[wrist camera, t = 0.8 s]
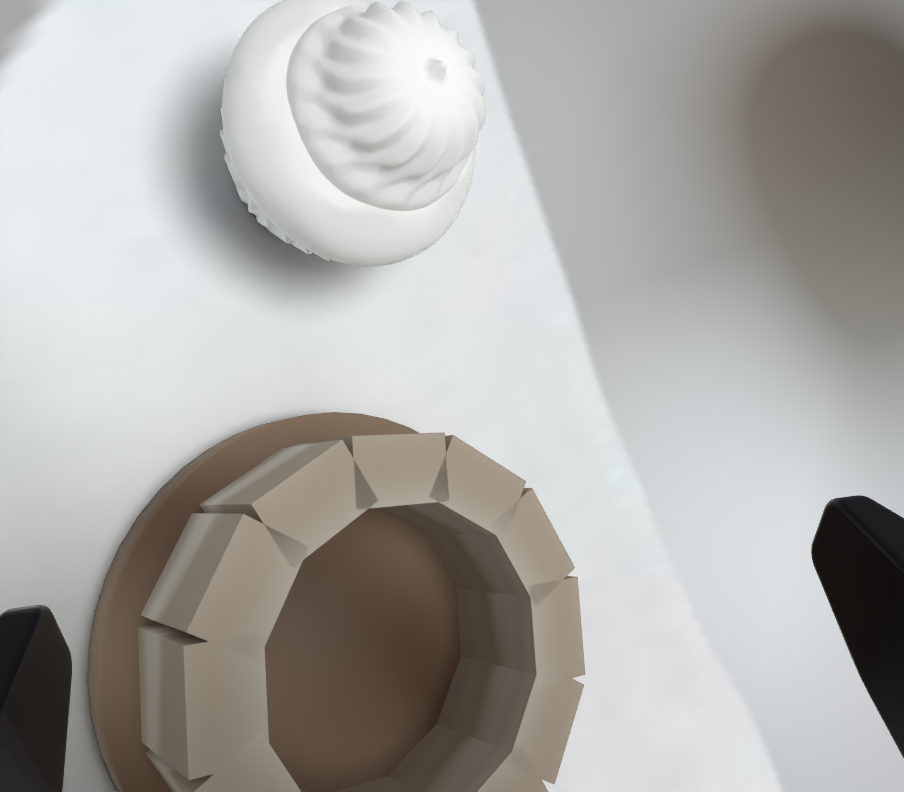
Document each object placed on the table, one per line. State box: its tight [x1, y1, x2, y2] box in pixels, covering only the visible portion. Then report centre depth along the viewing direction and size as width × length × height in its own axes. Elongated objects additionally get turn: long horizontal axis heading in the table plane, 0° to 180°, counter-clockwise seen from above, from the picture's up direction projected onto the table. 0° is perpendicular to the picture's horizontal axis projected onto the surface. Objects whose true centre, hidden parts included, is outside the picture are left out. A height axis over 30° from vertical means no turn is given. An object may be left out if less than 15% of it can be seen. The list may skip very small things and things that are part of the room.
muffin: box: [220, 0, 486, 266], centre depth 19 cm, size 6×6×7 cm
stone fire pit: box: [88, 412, 585, 792], centre depth 19 cm, size 11×11×4 cm
